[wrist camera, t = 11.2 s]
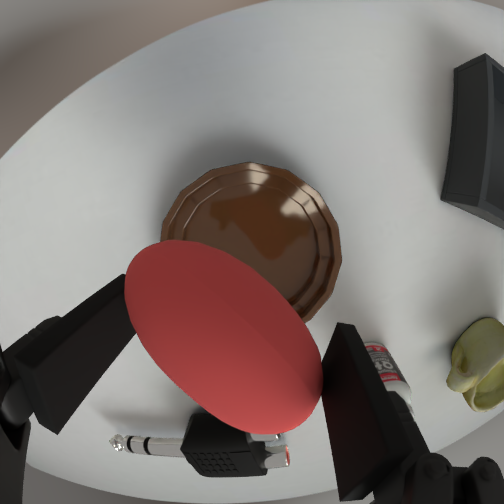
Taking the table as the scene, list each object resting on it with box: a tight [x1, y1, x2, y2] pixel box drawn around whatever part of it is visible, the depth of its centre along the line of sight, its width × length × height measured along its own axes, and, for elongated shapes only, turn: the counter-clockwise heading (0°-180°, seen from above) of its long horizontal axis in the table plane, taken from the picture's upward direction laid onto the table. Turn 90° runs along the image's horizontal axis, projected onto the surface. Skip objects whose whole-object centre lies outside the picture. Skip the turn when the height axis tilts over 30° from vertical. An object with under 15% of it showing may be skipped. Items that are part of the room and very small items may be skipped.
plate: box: [160, 162, 342, 323], centre depth 23 cm, size 14×14×2 cm
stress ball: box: [124, 240, 324, 434], centre depth 10 cm, size 5×9×6 cm
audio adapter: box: [109, 414, 290, 477], centre depth 28 cm, size 11×5×25 cm
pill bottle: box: [364, 342, 415, 422], centre depth 21 cm, size 5×5×10 cm
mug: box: [446, 318, 504, 412], centre depth 21 cm, size 12×10×10 cm
